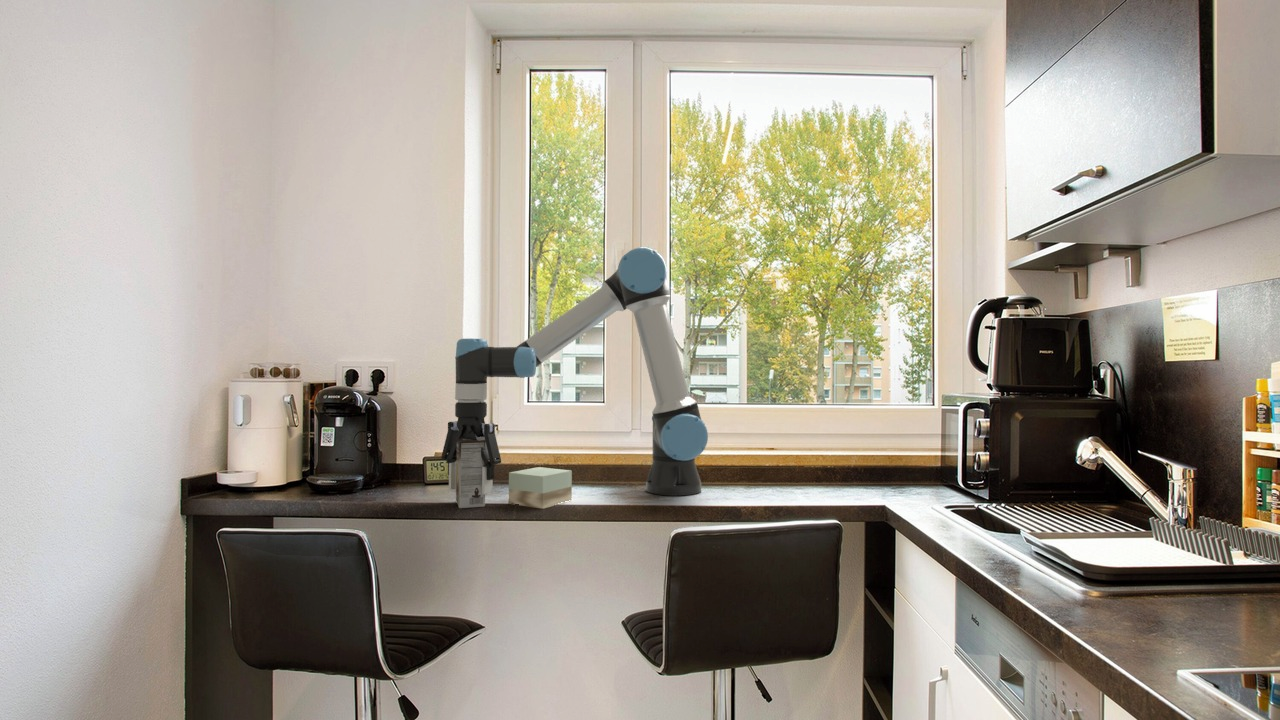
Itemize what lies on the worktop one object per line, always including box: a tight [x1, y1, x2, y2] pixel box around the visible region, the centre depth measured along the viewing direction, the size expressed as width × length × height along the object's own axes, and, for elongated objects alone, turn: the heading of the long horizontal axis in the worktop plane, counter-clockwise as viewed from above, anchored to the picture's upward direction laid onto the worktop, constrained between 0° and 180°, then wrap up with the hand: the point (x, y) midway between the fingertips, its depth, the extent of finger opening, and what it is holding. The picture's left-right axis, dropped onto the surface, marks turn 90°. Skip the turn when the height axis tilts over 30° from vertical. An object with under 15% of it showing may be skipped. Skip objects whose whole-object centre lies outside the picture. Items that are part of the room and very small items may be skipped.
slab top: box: [508, 466, 573, 493], centre depth 158 cm, size 11×11×4 cm
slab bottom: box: [508, 487, 573, 509], centre depth 158 cm, size 11×11×4 cm
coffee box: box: [455, 438, 486, 509], centre depth 155 cm, size 9×6×16 cm
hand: (470, 491), depth 155 cm, fingers open, 11 cm apart
